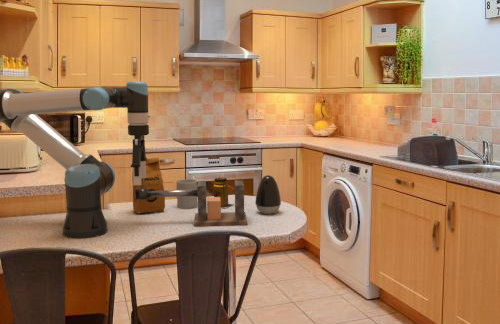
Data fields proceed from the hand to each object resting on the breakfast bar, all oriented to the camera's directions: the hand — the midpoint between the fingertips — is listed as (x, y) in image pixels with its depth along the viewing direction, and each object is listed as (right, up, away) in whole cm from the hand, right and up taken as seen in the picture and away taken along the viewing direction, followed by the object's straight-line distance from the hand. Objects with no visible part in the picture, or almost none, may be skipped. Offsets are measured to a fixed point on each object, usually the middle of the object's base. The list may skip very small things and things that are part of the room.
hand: (139, 181), depth 201 cm
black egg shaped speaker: (+48, -13, +17) cm, 53 cm away
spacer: (+27, -14, +4) cm, 31 cm away
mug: (+14, -12, +30) cm, 35 cm away
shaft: (+11, -7, +2) cm, 13 cm away
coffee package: (0, -13, +20) cm, 24 cm away
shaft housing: (+30, -15, +4) cm, 34 cm away
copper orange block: (+29, -12, +29) cm, 43 cm away
